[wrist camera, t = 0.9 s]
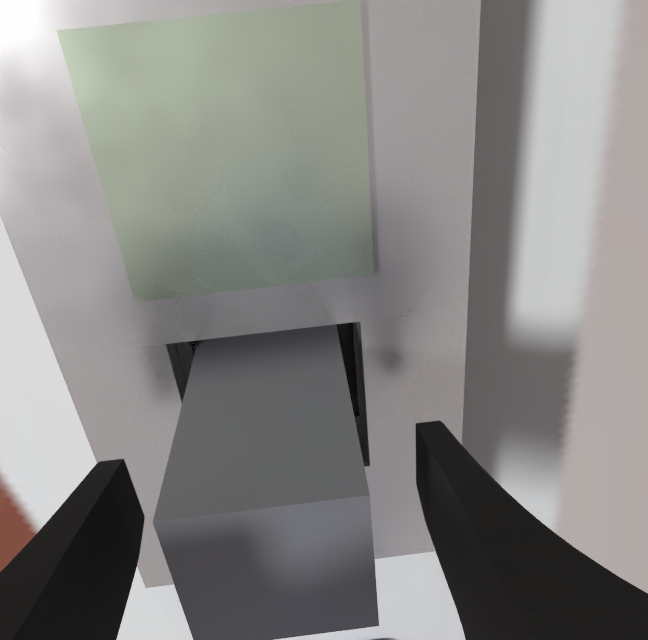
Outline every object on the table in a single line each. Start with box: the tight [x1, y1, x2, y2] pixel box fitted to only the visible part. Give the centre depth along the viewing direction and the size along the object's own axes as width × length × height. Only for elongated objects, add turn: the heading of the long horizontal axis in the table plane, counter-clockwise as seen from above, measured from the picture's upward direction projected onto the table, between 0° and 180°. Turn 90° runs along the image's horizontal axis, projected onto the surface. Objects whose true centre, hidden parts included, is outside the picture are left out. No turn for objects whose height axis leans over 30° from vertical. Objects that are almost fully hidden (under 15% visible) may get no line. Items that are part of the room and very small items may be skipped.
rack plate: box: [0, 0, 481, 588], centre depth 15 cm, size 20×11×3 cm, turn 5°
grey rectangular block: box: [153, 324, 379, 640], centre depth 14 cm, size 4×4×8 cm
